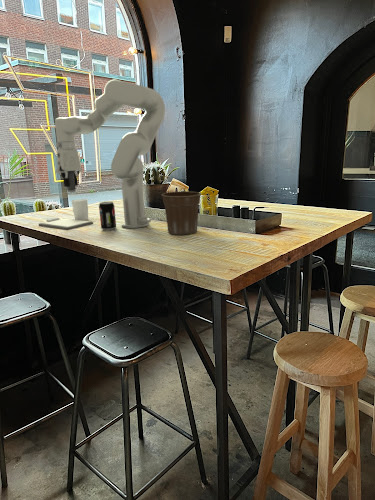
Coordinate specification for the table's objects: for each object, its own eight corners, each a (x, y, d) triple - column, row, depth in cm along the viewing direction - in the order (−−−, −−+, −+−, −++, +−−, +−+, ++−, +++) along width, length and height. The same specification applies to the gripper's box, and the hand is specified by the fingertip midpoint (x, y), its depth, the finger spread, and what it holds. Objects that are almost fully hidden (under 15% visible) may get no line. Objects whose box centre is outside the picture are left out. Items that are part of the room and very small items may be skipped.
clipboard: (92, 223, 180) (92, 219, 180) (67, 229, 169) (66, 225, 168) (64, 220, 193) (64, 216, 192) (38, 225, 181) (38, 221, 180)
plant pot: (206, 228, 160) (205, 190, 156) (197, 237, 145) (195, 196, 141) (170, 227, 165) (168, 191, 160) (158, 236, 150) (155, 196, 145)
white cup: (85, 220, 189) (83, 201, 186) (71, 220, 190) (68, 201, 187) (91, 217, 196) (89, 198, 193) (77, 217, 197) (75, 199, 195)
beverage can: (113, 230, 163) (110, 203, 159) (98, 230, 164) (96, 203, 161) (118, 227, 169) (116, 201, 166) (105, 227, 170) (102, 201, 167)
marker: (78, 191, 177) (75, 165, 174) (70, 192, 174) (67, 165, 170) (72, 191, 179) (69, 165, 176) (65, 192, 176) (62, 165, 173)
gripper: (56, 146, 162) (61, 188, 167) (86, 145, 175) (90, 184, 180) (45, 146, 166) (51, 187, 171) (75, 146, 179) (80, 184, 184)
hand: (71, 185), depth 176 cm, fingers closed on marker, 4 cm apart
